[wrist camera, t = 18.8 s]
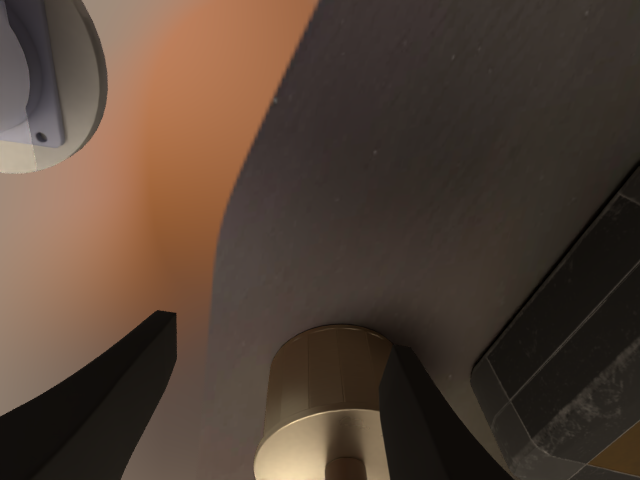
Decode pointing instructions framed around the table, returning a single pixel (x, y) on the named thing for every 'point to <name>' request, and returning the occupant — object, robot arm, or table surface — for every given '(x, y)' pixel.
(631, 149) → the table surface
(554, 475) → the cash box
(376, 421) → the lid
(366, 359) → the tin
